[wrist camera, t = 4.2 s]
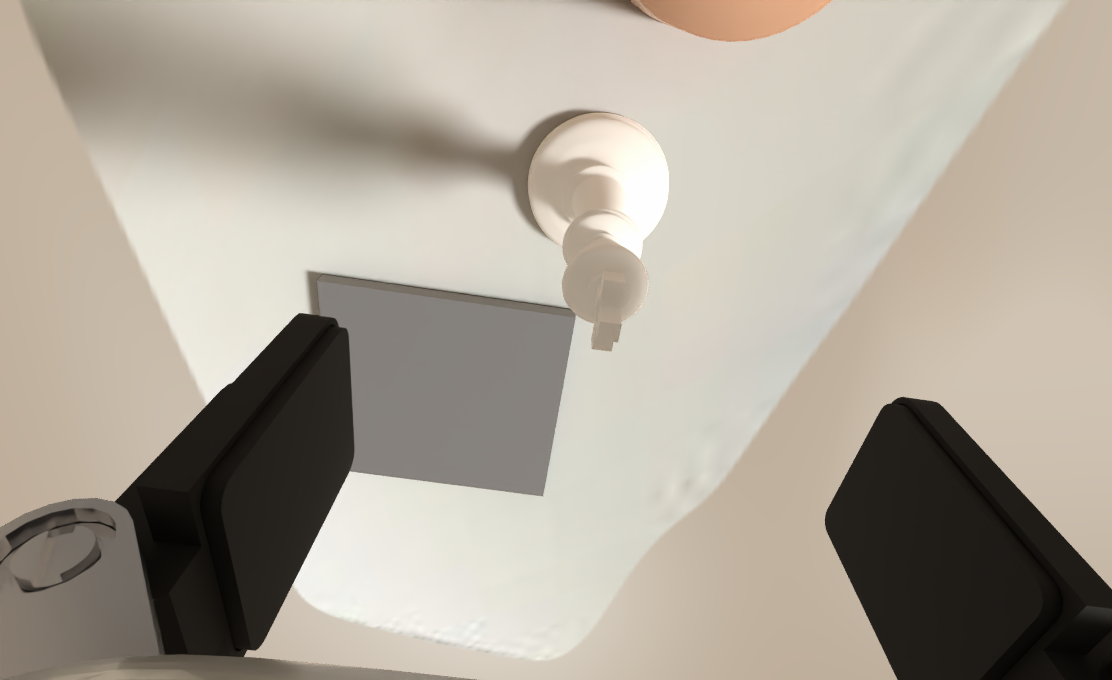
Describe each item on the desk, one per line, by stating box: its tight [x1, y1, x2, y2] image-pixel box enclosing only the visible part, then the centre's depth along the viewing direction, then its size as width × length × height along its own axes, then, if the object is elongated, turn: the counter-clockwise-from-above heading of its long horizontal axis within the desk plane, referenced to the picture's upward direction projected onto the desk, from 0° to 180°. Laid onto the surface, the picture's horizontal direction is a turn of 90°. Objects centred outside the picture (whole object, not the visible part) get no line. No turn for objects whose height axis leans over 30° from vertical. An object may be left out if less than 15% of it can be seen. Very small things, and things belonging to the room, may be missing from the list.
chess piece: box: [528, 113, 669, 351], centre depth 16 cm, size 5×5×10 cm
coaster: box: [317, 274, 575, 496], centre depth 25 cm, size 10×10×1 cm
